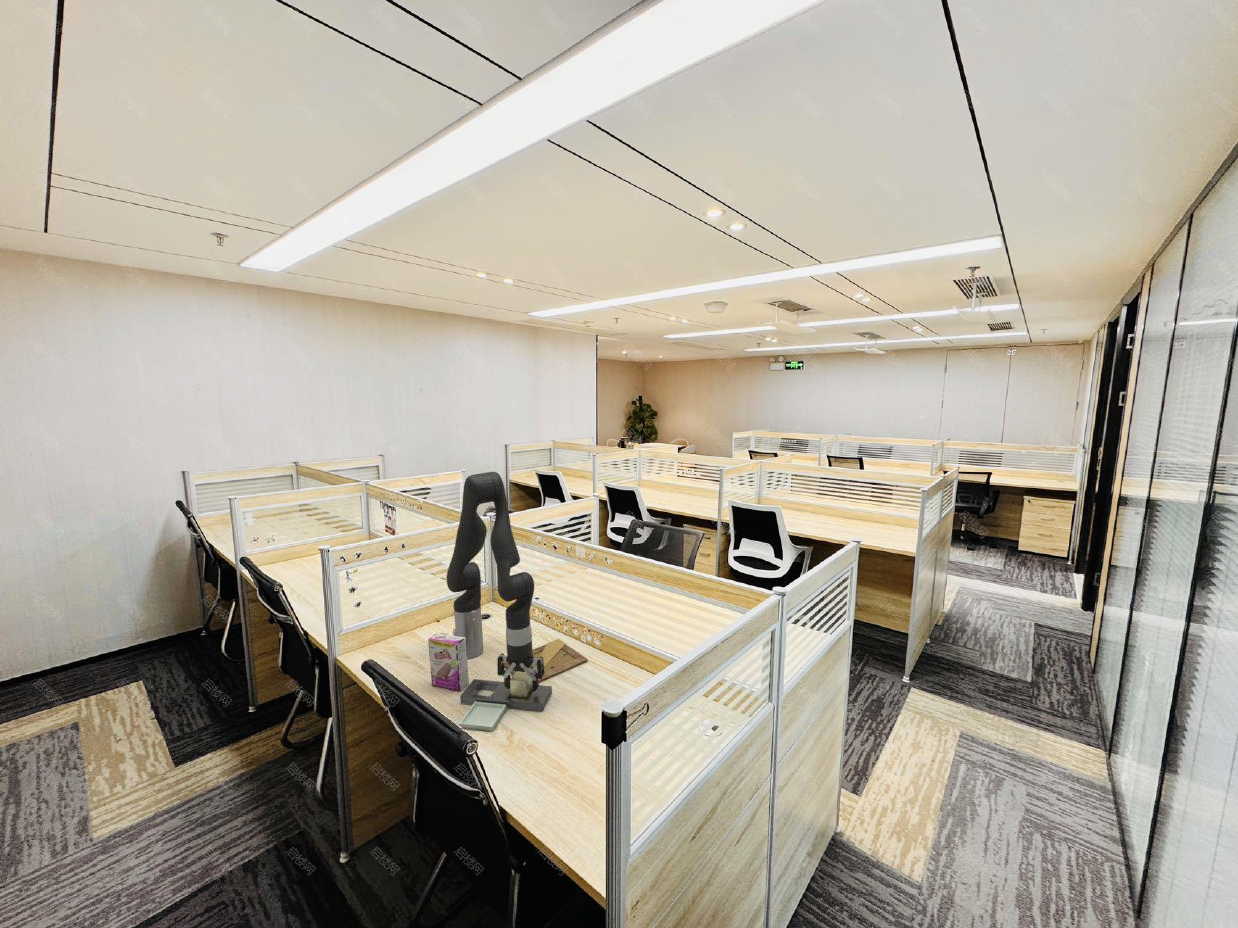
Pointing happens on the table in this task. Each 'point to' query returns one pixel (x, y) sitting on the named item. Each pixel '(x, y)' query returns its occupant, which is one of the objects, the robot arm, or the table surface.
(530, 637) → the robot arm
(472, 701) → the board with square holes
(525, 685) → the tan square peg
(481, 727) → the tray
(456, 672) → the candy bar box
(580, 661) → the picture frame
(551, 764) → the table surface
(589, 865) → the table surface
